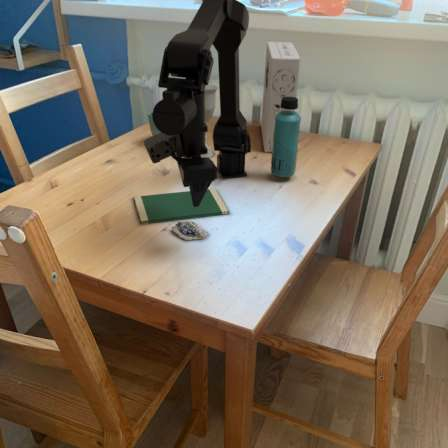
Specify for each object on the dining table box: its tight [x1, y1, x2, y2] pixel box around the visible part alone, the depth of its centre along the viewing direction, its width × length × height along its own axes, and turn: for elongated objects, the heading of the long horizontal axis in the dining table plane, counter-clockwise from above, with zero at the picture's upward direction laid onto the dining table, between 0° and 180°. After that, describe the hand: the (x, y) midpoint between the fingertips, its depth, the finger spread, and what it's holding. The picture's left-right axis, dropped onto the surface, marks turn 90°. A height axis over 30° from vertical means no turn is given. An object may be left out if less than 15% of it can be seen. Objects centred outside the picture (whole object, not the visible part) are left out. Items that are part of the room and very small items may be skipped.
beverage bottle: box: [270, 97, 302, 178], centre depth 120 cm, size 6×7×20 cm
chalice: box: [201, 83, 219, 158], centre depth 132 cm, size 7×7×18 cm
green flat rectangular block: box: [133, 188, 230, 225], centre depth 112 cm, size 20×12×1 cm, turn 106°
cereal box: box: [260, 41, 301, 153], centre depth 140 cm, size 22×8×25 cm, turn 179°
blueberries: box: [170, 220, 208, 241], centre depth 102 cm, size 7×8×2 cm
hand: (190, 196), depth 98 cm, fingers open, 9 cm apart
